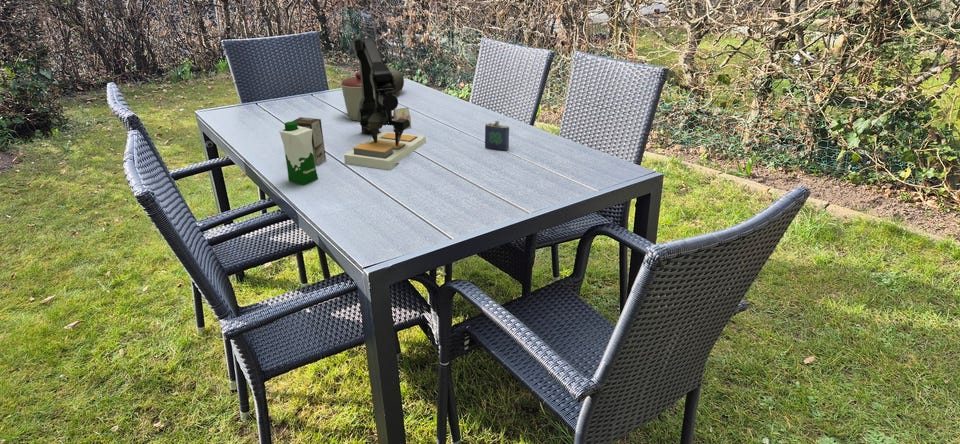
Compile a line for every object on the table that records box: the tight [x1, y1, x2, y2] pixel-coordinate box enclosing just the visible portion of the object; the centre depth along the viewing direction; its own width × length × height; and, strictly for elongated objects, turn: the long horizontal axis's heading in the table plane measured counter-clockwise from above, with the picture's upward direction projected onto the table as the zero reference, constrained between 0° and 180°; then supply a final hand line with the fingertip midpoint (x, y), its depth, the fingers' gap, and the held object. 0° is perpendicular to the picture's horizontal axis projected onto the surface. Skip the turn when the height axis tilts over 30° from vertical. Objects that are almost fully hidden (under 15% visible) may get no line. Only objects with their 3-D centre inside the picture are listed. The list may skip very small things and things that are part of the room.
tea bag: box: [392, 106, 412, 130], centre depth 247 cm, size 4×7×10 cm, turn 124°
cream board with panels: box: [343, 131, 427, 171], centre depth 224 cm, size 23×30×3 cm
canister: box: [339, 71, 375, 122], centre depth 262 cm, size 18×18×21 cm
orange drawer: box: [369, 140, 405, 150], centre depth 223 cm, size 13×6×3 cm, turn 69°
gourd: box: [357, 66, 405, 96], centre depth 303 cm, size 25×25×17 cm
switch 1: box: [352, 142, 393, 159], centre depth 213 cm, size 13×6×3 cm, turn 69°
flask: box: [484, 120, 510, 152], centre depth 226 cm, size 10×3×12 cm, turn 68°
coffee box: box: [291, 116, 327, 167], centre depth 212 cm, size 9×6×16 cm
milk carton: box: [279, 121, 319, 186], centre depth 195 cm, size 9×9×20 cm
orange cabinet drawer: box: [381, 132, 418, 142], centre depth 231 cm, size 13×6×3 cm, turn 69°
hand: (386, 143), depth 222 cm, fingers open, 9 cm apart
